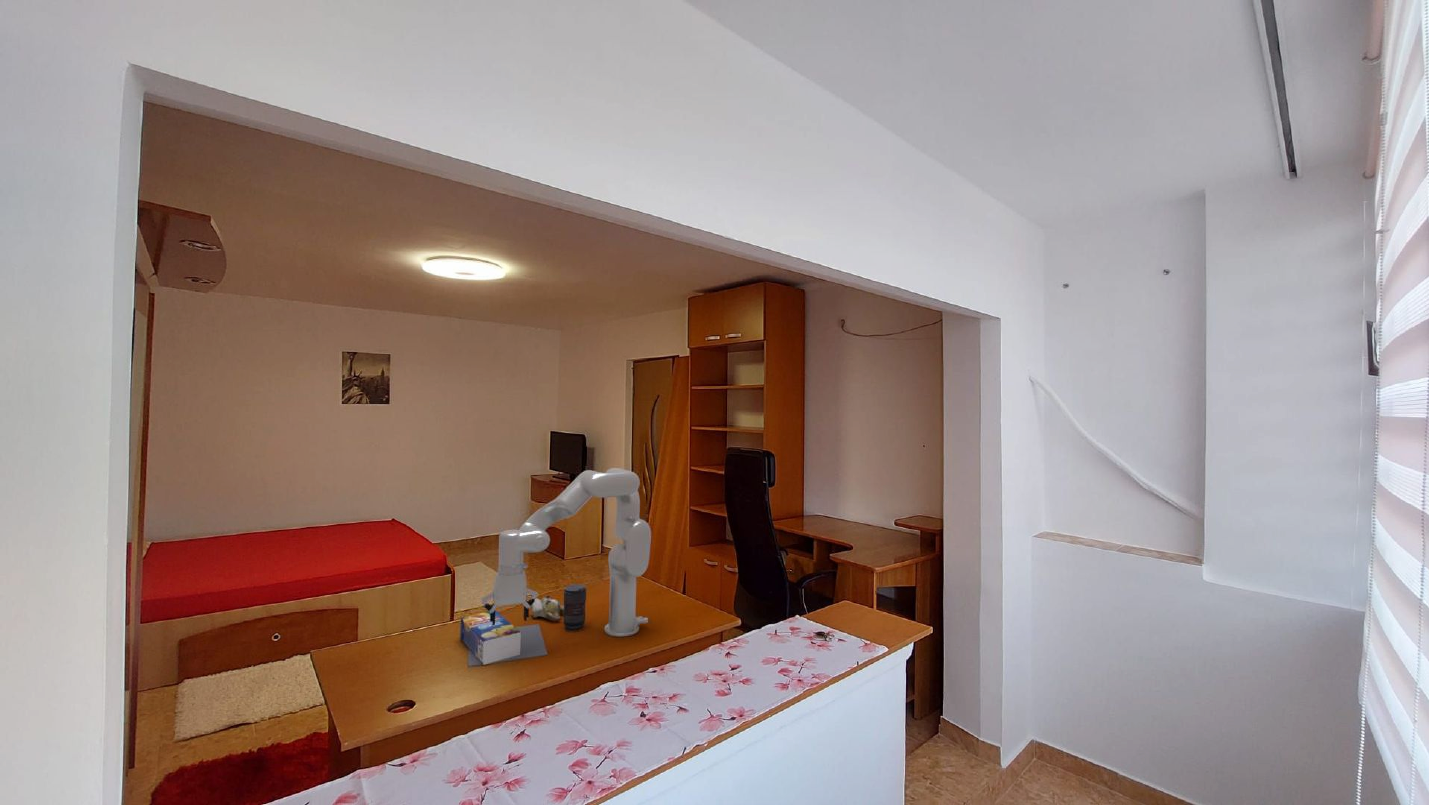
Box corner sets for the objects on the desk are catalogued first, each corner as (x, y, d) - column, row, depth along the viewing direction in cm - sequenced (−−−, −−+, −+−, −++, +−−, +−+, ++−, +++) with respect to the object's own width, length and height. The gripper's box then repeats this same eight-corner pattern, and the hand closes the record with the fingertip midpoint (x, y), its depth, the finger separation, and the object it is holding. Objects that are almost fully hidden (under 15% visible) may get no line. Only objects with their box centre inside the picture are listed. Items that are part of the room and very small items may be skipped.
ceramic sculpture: (537, 589, 224) (573, 594, 222) (536, 610, 225) (571, 615, 222) (525, 598, 214) (562, 604, 212) (523, 621, 214) (560, 627, 212)
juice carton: (483, 641, 178) (460, 617, 196) (483, 665, 178) (460, 639, 196) (521, 632, 186) (495, 609, 204) (520, 654, 186) (495, 630, 204)
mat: (538, 625, 211) (538, 624, 211) (547, 655, 187) (547, 654, 187) (468, 634, 201) (468, 633, 201) (468, 667, 177) (468, 665, 177)
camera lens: (589, 625, 212) (590, 585, 212) (577, 633, 204) (578, 592, 204) (571, 622, 214) (572, 582, 214) (558, 630, 207) (559, 589, 207)
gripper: (537, 563, 190) (536, 613, 190) (481, 568, 183) (480, 620, 183) (539, 569, 183) (538, 622, 183) (482, 575, 176) (480, 629, 176)
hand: (509, 621), depth 183 cm, fingers open, 9 cm apart
